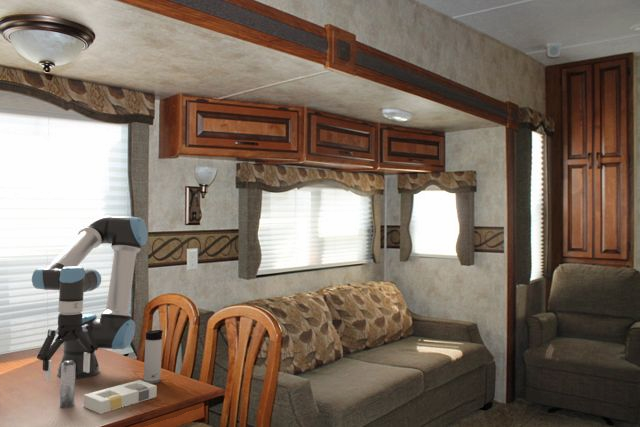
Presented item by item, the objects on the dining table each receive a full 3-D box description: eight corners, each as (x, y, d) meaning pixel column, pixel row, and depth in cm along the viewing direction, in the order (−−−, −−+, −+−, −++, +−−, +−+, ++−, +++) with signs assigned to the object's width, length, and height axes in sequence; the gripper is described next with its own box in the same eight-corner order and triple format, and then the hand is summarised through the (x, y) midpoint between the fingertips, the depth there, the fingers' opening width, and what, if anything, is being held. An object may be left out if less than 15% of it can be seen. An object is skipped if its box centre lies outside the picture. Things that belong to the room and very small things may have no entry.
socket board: (83, 406, 185) (84, 394, 185) (139, 390, 203) (139, 379, 203) (101, 414, 179) (101, 401, 179) (156, 397, 197) (157, 385, 197)
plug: (57, 405, 185) (58, 361, 185) (69, 402, 188) (71, 359, 188) (64, 408, 182) (65, 364, 182) (76, 405, 186) (78, 361, 186)
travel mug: (156, 384, 211) (158, 332, 210) (140, 382, 212) (142, 331, 212) (164, 379, 217) (166, 329, 217) (148, 378, 218) (150, 327, 218)
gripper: (39, 318, 173) (36, 386, 173) (110, 310, 193) (107, 370, 193) (27, 315, 177) (24, 381, 177) (97, 307, 198) (94, 366, 197)
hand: (67, 376), depth 185 cm, fingers open, 13 cm apart
